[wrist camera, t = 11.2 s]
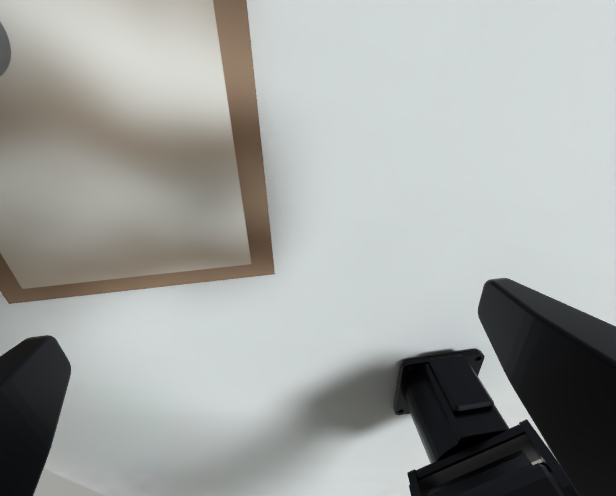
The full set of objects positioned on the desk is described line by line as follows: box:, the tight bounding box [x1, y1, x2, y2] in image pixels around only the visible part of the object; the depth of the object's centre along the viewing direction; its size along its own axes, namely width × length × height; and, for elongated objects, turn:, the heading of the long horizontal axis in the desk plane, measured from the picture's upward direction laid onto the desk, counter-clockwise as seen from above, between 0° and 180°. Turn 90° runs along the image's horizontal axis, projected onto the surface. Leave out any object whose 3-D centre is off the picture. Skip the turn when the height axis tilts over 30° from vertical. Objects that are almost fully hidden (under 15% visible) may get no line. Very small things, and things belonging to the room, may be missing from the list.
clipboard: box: [0, 0, 275, 304], centre depth 14 cm, size 18×14×2 cm
